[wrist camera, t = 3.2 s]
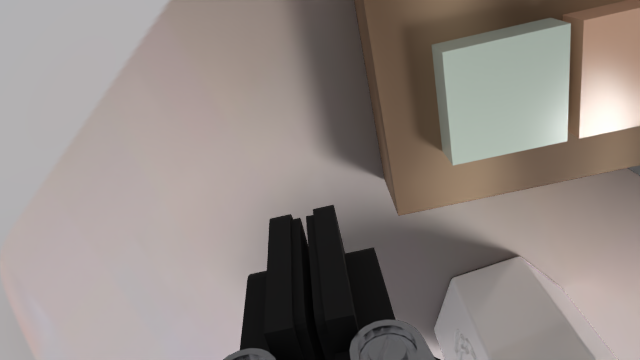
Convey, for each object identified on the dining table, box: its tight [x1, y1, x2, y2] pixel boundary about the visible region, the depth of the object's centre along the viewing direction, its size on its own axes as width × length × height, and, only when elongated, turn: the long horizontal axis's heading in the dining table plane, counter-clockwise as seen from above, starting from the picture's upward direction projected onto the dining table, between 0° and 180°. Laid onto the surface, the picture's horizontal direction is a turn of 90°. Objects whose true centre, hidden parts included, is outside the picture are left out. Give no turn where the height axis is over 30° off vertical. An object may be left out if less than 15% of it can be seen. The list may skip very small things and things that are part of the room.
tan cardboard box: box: [354, 0, 640, 216], centre depth 22 cm, size 14×11×4 cm
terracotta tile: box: [562, 0, 640, 139], centre depth 20 cm, size 5×5×2 cm
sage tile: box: [432, 18, 571, 165], centre depth 20 cm, size 5×5×2 cm
